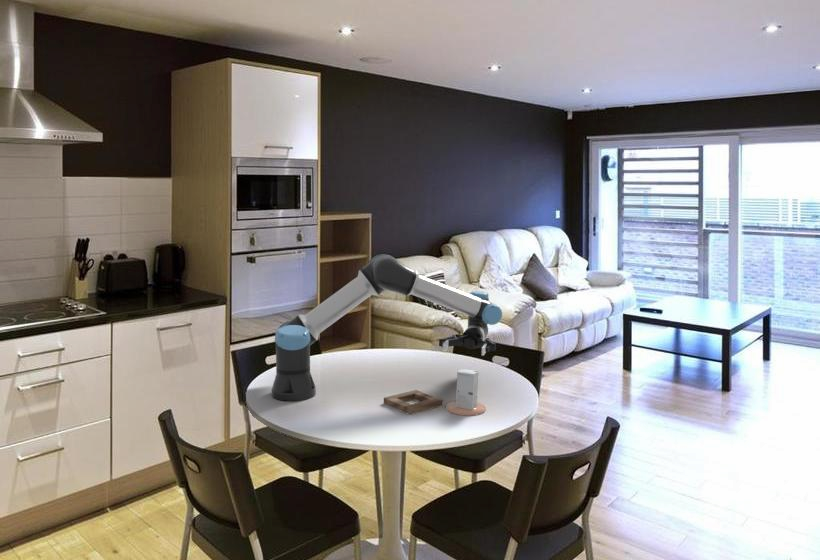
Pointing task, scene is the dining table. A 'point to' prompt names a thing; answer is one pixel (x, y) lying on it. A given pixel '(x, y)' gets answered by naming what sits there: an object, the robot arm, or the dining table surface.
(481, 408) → the coaster
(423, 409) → the socket block
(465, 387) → the skincare box
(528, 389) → the dining table surface
